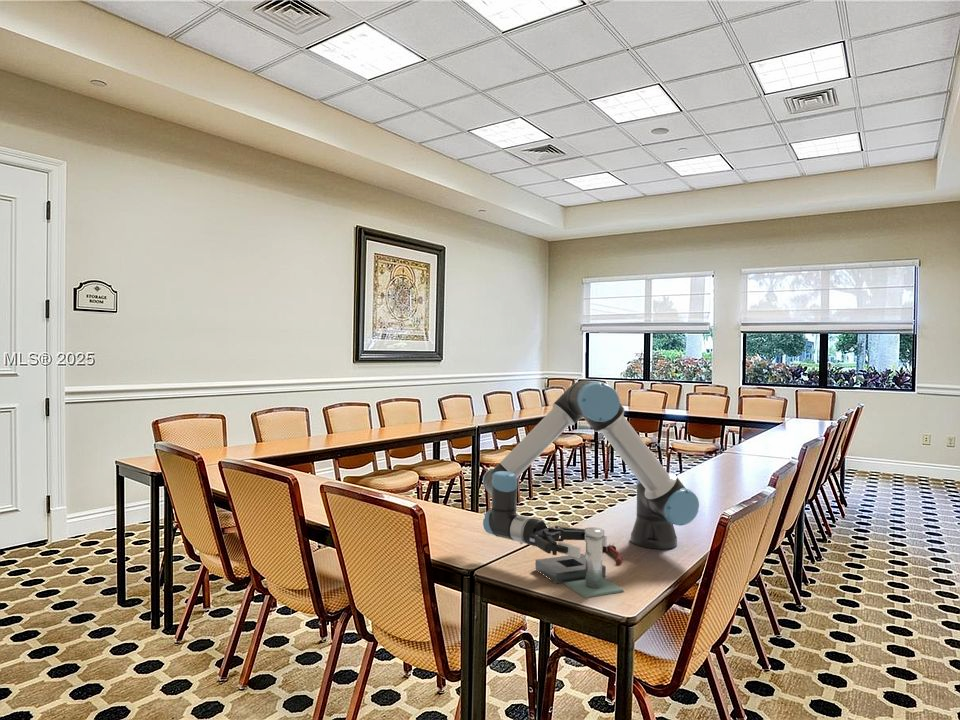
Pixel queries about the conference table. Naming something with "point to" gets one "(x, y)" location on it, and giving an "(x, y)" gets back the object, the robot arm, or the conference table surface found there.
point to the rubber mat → (589, 592)
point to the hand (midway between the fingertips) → (593, 546)
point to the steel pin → (594, 557)
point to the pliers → (612, 552)
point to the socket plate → (564, 568)
